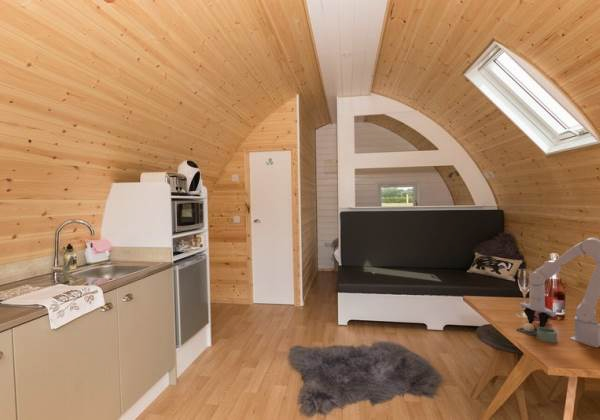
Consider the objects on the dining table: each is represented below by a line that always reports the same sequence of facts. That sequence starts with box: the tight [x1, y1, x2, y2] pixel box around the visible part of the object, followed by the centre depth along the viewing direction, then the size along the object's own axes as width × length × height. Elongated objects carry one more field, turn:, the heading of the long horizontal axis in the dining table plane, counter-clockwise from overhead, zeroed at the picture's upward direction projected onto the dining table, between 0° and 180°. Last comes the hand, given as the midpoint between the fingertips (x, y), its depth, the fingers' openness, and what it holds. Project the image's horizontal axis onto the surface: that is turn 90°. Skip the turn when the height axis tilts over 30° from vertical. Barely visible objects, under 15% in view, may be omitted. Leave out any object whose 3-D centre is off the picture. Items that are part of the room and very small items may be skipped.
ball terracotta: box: [532, 320, 540, 330], centre depth 152 cm, size 4×4×4 cm
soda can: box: [534, 293, 549, 322], centre depth 165 cm, size 7×7×13 cm
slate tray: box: [516, 326, 537, 337], centre depth 150 cm, size 7×12×1 cm, turn 114°
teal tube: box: [536, 326, 558, 343], centre depth 141 cm, size 7×7×4 cm
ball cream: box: [522, 322, 534, 332], centre depth 149 cm, size 4×4×4 cm
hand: (536, 326), depth 152 cm, fingers closed on ball terracotta, 4 cm apart
